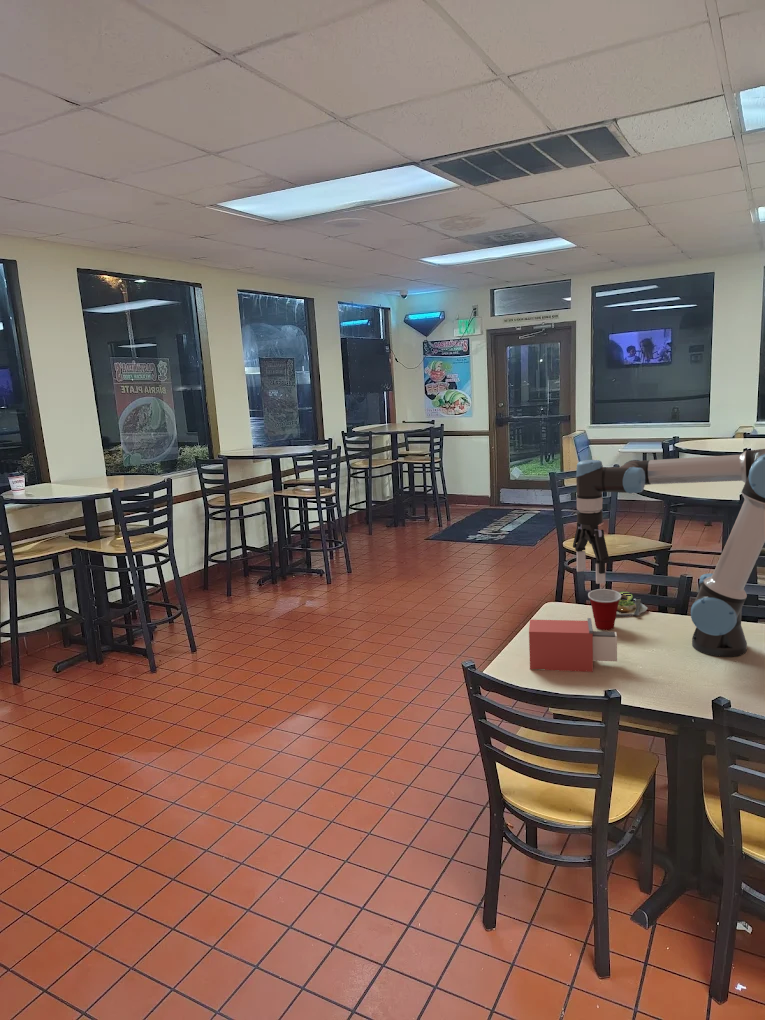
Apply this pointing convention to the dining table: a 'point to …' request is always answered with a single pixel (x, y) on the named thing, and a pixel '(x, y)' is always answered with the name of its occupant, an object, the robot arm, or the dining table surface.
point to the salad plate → (630, 606)
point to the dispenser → (561, 645)
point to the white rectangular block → (604, 646)
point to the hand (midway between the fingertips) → (590, 577)
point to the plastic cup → (604, 607)
